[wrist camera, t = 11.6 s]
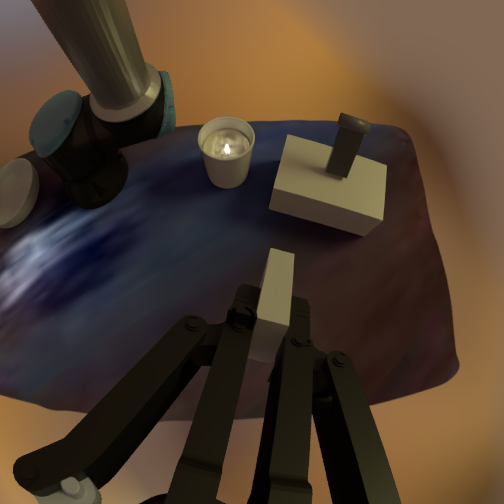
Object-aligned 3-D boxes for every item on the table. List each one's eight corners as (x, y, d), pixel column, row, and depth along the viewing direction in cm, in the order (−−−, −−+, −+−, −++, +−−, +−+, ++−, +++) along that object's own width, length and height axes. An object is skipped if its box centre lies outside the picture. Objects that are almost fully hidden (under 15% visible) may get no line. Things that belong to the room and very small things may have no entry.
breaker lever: (322, 172, 51) (341, 115, 43) (322, 165, 52) (341, 110, 44) (349, 180, 51) (371, 125, 42) (348, 173, 52) (369, 120, 44)
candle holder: (252, 153, 63) (255, 117, 51) (250, 193, 60) (253, 161, 49) (206, 151, 62) (201, 115, 51) (201, 191, 60) (193, 159, 48)
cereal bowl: (11, 174, 60) (-3, 161, 53) (55, 168, 60) (41, 153, 54) (-6, 234, 55) (-23, 225, 48) (38, 235, 56) (20, 224, 49)
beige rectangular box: (268, 209, 59) (273, 187, 51) (281, 158, 63) (288, 133, 54) (364, 236, 59) (382, 220, 50) (370, 185, 62) (386, 164, 54)
